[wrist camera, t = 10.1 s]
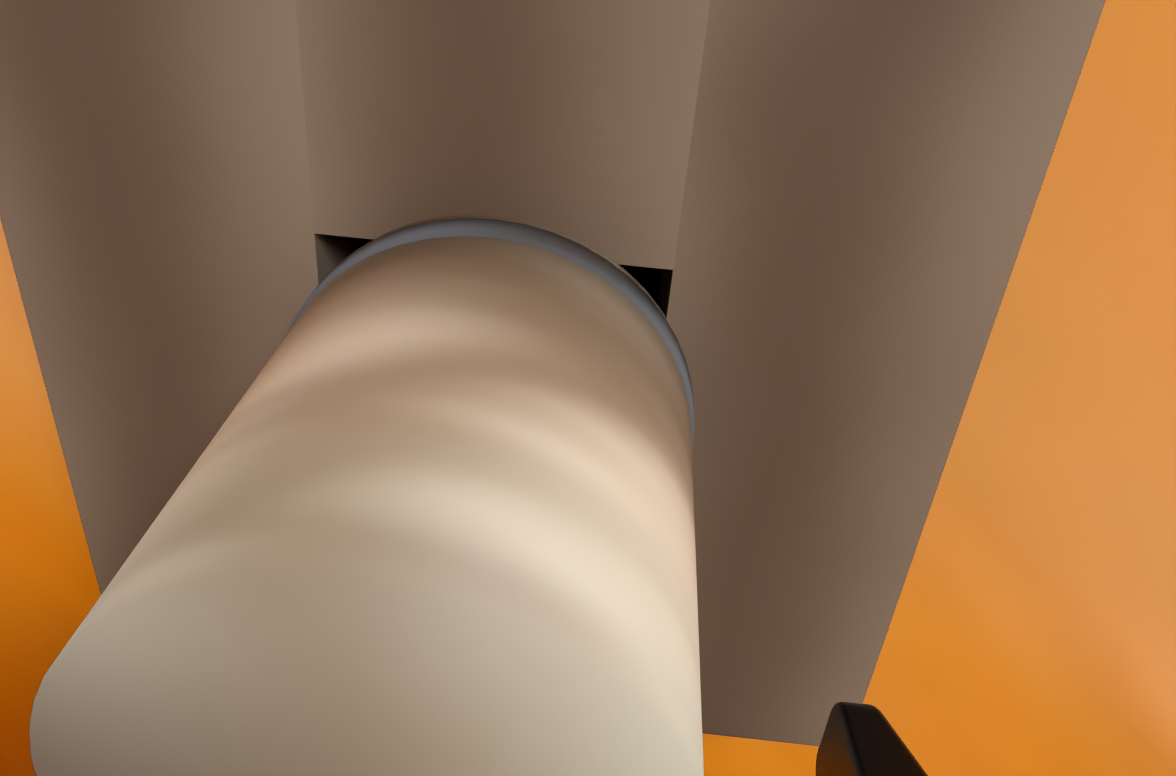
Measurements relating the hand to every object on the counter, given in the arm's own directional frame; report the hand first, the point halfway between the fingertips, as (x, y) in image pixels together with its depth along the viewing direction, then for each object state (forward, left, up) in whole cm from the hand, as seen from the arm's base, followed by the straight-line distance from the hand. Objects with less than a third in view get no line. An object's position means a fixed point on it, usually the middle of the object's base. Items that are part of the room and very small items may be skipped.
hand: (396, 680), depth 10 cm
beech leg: (0, 0, -8) cm, 8 cm away
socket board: (0, 0, -8) cm, 9 cm away
